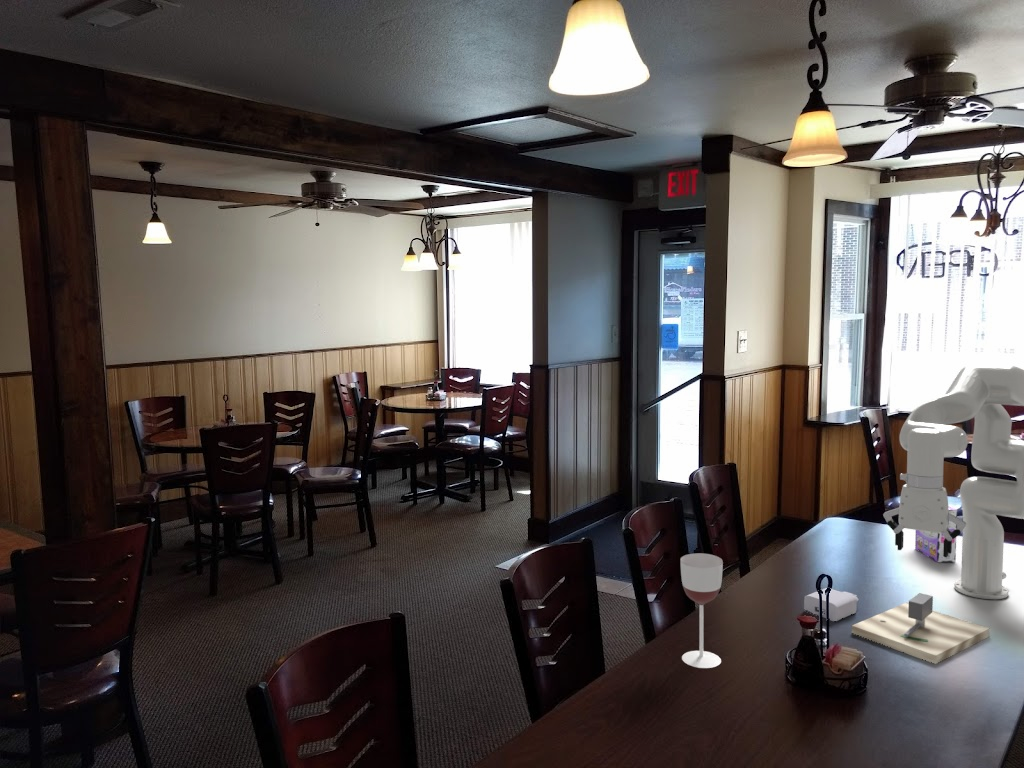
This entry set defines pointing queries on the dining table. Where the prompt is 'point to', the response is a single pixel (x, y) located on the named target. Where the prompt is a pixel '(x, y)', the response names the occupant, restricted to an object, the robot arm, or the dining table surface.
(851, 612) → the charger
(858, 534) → the dining table surface
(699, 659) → the wineglass
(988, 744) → the dining table surface
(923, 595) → the key
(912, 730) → the dining table surface
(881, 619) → the wooden cutting board
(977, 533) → the robot arm
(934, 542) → the candy box
